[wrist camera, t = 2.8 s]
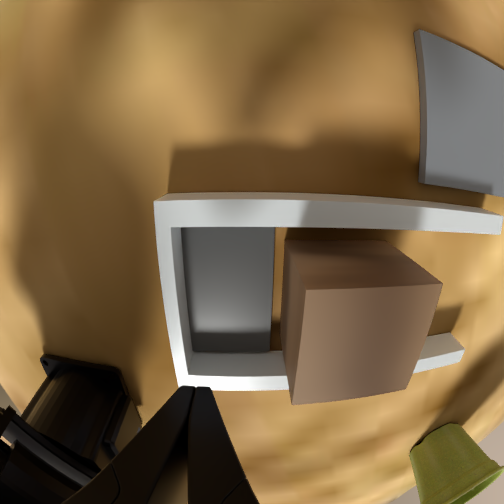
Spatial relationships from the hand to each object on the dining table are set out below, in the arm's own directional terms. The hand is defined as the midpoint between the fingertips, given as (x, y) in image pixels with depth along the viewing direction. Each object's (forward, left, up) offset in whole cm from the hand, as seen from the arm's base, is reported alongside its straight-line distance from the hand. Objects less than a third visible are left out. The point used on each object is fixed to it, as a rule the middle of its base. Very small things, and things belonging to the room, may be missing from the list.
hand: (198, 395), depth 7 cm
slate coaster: (+14, +10, -7) cm, 18 cm away
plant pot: (+21, -18, -7) cm, 28 cm away
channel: (+7, 0, -7) cm, 9 cm away
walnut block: (+6, 0, -7) cm, 9 cm away
